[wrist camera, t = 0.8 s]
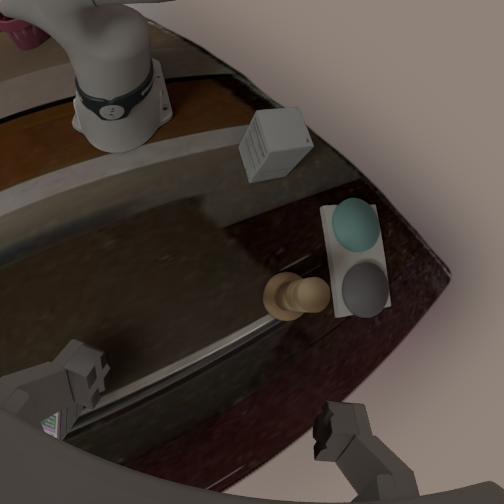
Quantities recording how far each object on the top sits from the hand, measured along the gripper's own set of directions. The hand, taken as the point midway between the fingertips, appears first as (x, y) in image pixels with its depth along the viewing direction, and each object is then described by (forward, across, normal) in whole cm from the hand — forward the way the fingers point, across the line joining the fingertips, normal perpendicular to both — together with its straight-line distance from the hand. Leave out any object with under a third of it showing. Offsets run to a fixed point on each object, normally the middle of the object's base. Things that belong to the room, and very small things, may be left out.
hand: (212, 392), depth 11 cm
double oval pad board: (+47, -19, +9) cm, 52 cm away
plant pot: (+50, +60, -28) cm, 83 cm away
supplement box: (+50, +2, -4) cm, 50 cm away
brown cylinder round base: (+39, -7, +16) cm, 43 cm away
